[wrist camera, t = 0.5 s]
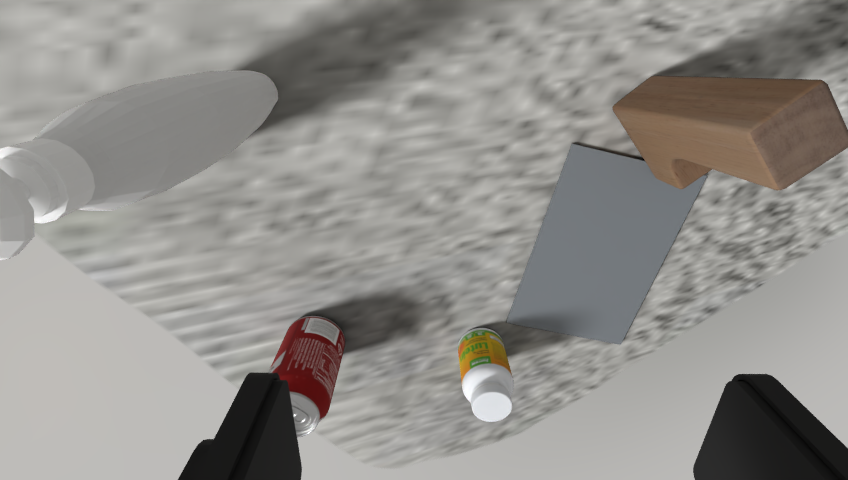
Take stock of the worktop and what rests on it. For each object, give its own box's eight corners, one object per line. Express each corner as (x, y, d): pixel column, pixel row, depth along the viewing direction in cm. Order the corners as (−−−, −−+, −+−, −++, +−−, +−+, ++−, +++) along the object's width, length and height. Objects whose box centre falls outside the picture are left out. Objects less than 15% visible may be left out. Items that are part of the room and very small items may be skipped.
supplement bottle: (483, 318, 50) (496, 377, 41) (512, 346, 52) (530, 408, 43) (448, 343, 52) (453, 406, 43) (477, 370, 53) (488, 435, 45)
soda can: (310, 301, 49) (279, 375, 38) (357, 334, 51) (340, 413, 40) (276, 338, 51) (237, 418, 40) (323, 368, 53) (298, 452, 42)
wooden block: (697, 151, 42) (885, 204, 25) (655, 180, 43) (810, 250, 26) (652, 73, 39) (829, 76, 23) (609, 106, 40) (748, 133, 24)
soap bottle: (261, 24, 38) (-40, -9, 13) (310, 111, 41) (142, 219, 16) (128, 99, 40) (-335, 191, 16) (184, 176, 43) (-129, 355, 19)
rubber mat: (572, 143, 42) (573, 144, 42) (704, 174, 43) (707, 176, 43) (506, 320, 50) (507, 322, 50) (619, 342, 52) (620, 344, 51)
